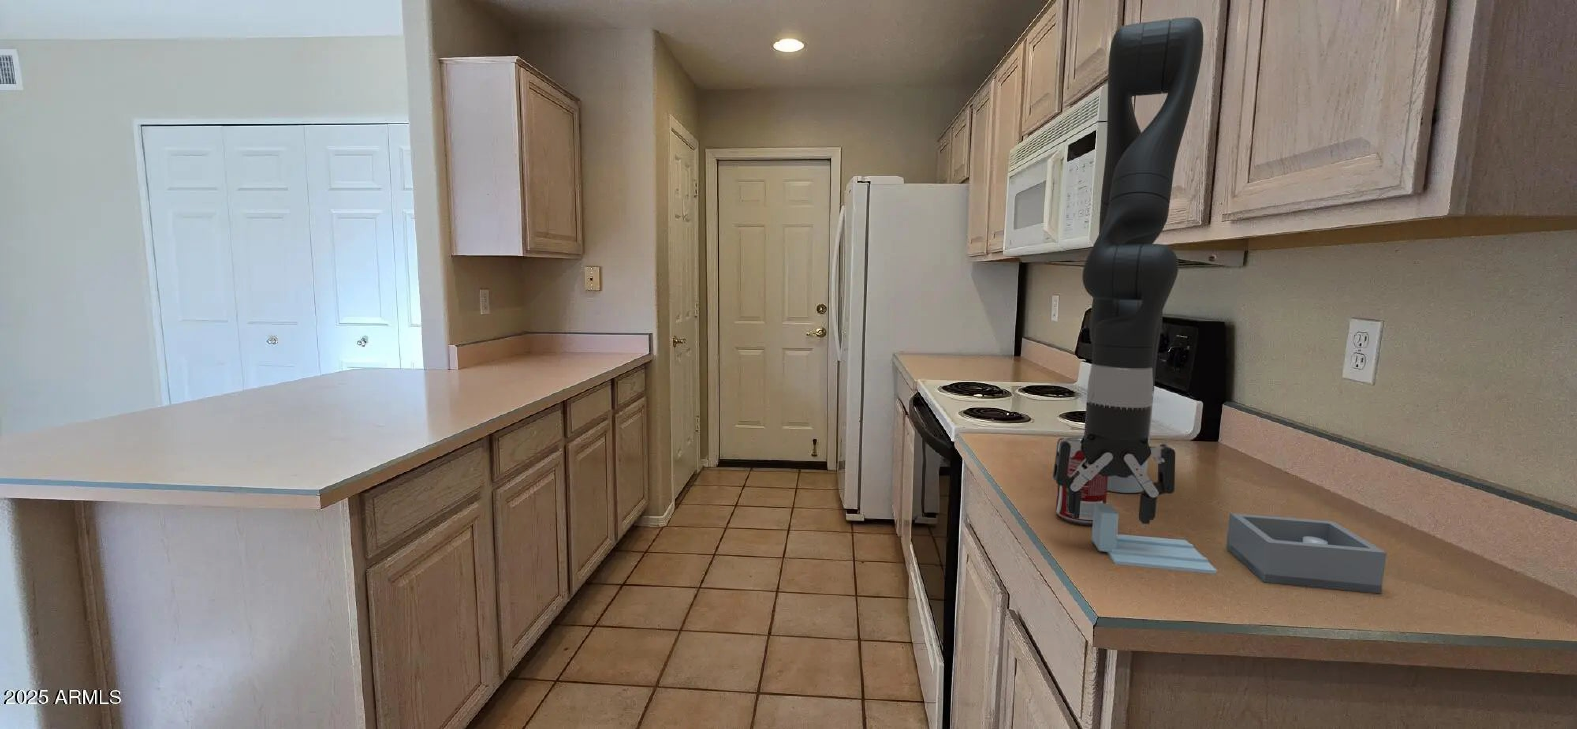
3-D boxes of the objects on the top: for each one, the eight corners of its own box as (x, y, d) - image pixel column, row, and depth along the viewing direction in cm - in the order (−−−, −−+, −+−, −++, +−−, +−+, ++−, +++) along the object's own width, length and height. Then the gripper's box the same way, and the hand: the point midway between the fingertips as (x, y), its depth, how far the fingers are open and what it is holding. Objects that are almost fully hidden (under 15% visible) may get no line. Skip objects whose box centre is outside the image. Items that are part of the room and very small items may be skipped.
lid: (1086, 536, 91) (1089, 496, 90) (1185, 545, 88) (1189, 504, 87) (1104, 565, 81) (1108, 520, 81) (1216, 576, 79) (1221, 530, 78)
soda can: (1110, 529, 93) (1116, 448, 91) (1060, 524, 94) (1066, 445, 92) (1097, 512, 99) (1103, 437, 98) (1051, 509, 101) (1056, 434, 99)
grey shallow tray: (1226, 548, 86) (1230, 513, 86) (1328, 557, 84) (1333, 521, 83) (1263, 582, 77) (1268, 542, 76) (1380, 593, 74) (1386, 552, 73)
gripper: (1168, 397, 85) (1157, 514, 87) (1054, 392, 88) (1047, 505, 90) (1190, 408, 78) (1178, 535, 80) (1066, 401, 81) (1057, 524, 83)
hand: (1108, 519), depth 85 cm, fingers open, 8 cm apart
